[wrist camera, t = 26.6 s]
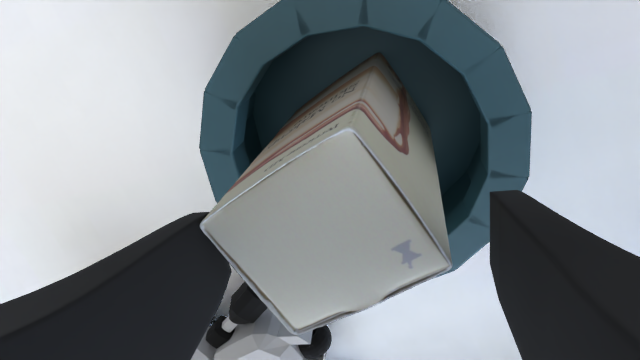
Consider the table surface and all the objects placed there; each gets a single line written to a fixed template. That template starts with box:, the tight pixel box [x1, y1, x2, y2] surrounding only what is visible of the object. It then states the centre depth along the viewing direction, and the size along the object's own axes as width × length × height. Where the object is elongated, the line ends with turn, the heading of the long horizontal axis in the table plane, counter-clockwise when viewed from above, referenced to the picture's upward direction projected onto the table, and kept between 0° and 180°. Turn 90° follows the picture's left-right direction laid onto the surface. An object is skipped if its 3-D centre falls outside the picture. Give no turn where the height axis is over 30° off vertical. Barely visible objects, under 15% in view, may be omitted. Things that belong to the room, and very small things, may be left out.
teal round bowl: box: [199, 0, 532, 280], centre depth 17 cm, size 11×11×6 cm
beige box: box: [200, 53, 452, 335], centre depth 14 cm, size 5×4×10 cm
